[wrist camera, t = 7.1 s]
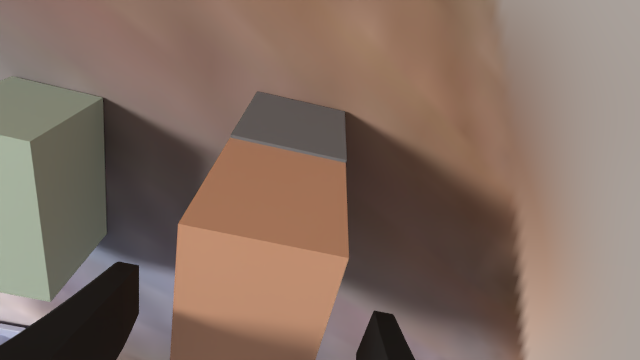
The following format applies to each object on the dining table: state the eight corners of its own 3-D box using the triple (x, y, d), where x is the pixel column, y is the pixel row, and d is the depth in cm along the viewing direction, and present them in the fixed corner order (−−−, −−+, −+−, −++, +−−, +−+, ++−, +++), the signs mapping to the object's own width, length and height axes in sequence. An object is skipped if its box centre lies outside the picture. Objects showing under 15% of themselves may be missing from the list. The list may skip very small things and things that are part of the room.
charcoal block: (308, 247, 22) (301, 319, 18) (236, 232, 22) (210, 302, 17) (344, 111, 18) (346, 160, 14) (257, 91, 18) (231, 134, 13)
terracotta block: (300, 321, 18) (287, 440, 13) (209, 304, 17) (166, 420, 13) (345, 162, 14) (349, 258, 9) (230, 137, 13) (178, 223, 9)
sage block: (106, 234, 22) (50, 301, 18) (32, 218, 22) (-44, 284, 17) (102, 97, 18) (29, 141, 14) (12, 76, 18) (-92, 114, 14)
